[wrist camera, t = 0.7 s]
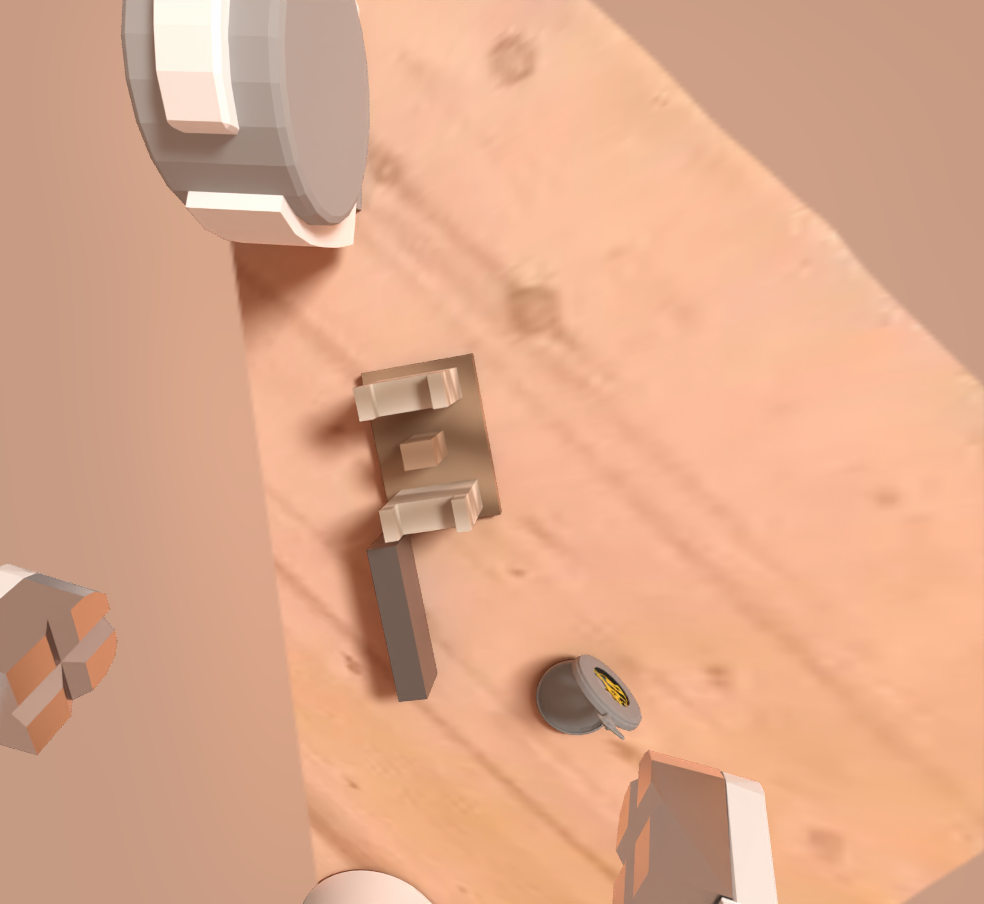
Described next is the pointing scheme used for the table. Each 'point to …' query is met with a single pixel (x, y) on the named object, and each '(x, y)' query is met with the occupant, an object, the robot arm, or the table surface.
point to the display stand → (430, 445)
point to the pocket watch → (586, 698)
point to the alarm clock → (254, 112)
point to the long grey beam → (403, 617)
